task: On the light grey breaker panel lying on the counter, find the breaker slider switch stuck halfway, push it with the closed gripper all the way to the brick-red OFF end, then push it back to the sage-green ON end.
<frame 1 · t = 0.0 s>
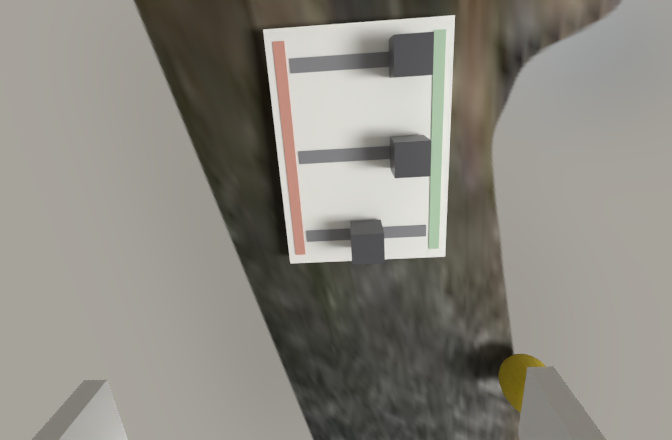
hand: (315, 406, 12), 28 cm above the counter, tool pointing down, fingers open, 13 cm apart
lemon: (511, 357, 45), on the counter
breaker panel: (362, 150, 37), on the counter
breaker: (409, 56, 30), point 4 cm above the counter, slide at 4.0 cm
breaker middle: (409, 155, 33), point 4 cm above the counter, slide at 4.0 cm
breaker slider switch: (366, 241, 36), point 4 cm above the counter, slide at 0.0 cm
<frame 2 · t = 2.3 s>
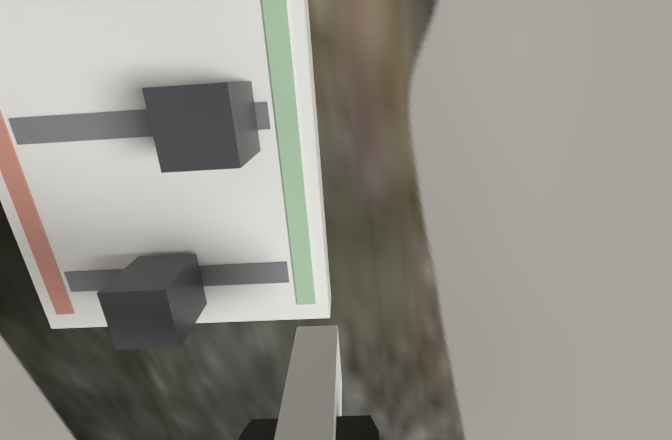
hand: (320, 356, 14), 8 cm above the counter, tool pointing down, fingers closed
breaker panel: (159, 118, 19), on the counter
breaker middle: (209, 123, 15), point 4 cm above the counter, slide at 4.0 cm
breaker slider switch: (158, 298, 18), point 4 cm above the counter, slide at 0.0 cm
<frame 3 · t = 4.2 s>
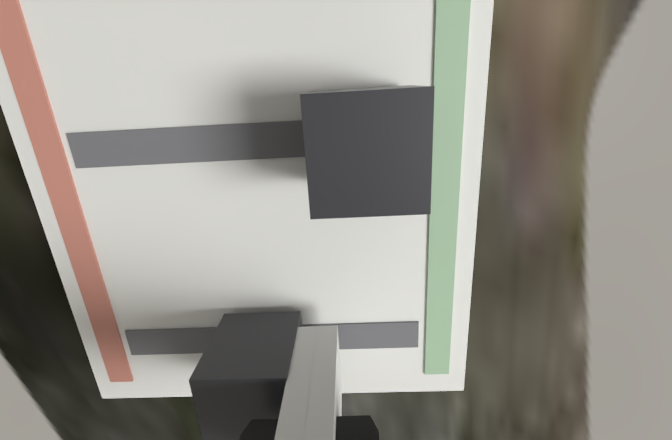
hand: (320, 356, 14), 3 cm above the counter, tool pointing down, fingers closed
breaker panel: (257, 134, 15), on the counter
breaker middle: (365, 145, 11), point 4 cm above the counter, slide at 4.0 cm
breaker slider switch: (257, 376, 13), point 4 cm above the counter, slide at -0.1 cm, touching gripper
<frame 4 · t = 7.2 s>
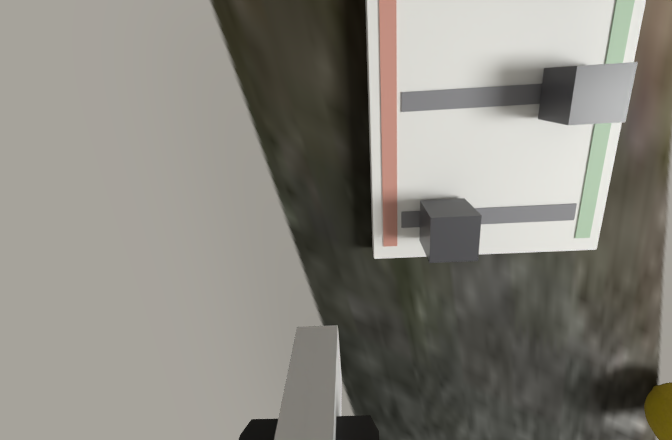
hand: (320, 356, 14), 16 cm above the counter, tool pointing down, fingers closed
lemon: (653, 385, 34), on the counter
breaker panel: (486, 95, 26), on the counter
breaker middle: (582, 93, 21), point 4 cm above the counter, slide at 4.0 cm
breaker slider switch: (447, 229, 25), point 4 cm above the counter, slide at -3.3 cm
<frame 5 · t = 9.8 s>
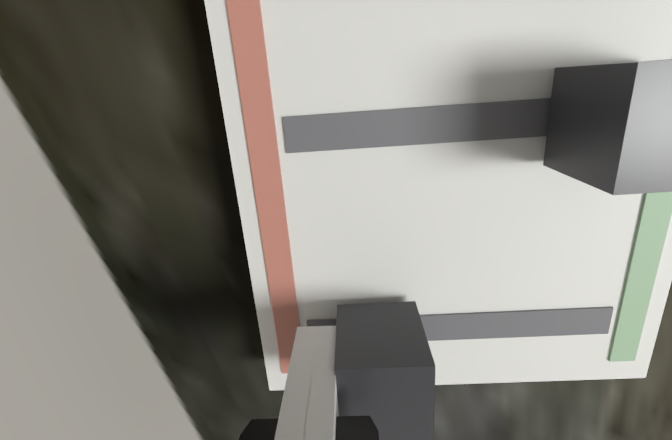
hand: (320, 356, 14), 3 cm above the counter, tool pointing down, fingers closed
breaker panel: (449, 117, 14), on the counter
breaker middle: (637, 120, 10), point 4 cm above the counter, slide at 4.0 cm
breaker slider switch: (380, 366, 13), point 4 cm above the counter, slide at -3.2 cm, touching gripper
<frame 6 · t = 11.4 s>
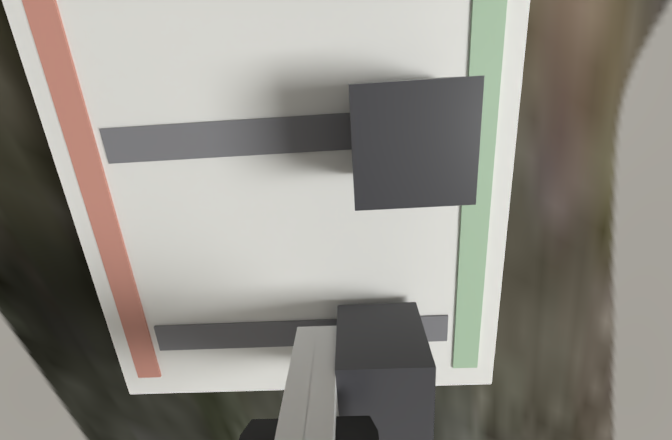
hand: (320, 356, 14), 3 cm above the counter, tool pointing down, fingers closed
breaker panel: (286, 128, 15), on the counter
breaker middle: (404, 137, 11), point 4 cm above the counter, slide at 4.0 cm
breaker slider switch: (381, 367, 13), point 4 cm above the counter, slide at 3.2 cm, touching gripper
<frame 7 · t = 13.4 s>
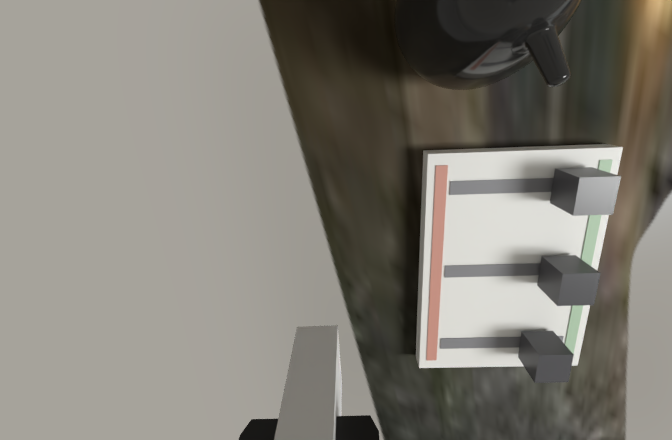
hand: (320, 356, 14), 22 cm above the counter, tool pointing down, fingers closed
breaker panel: (501, 260, 37), on the counter
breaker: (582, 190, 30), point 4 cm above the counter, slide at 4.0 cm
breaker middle: (566, 279, 33), point 4 cm above the counter, slide at 4.0 cm
breaker slider switch: (544, 355, 35), point 4 cm above the counter, slide at 3.2 cm
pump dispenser: (452, 24, 30), on the counter
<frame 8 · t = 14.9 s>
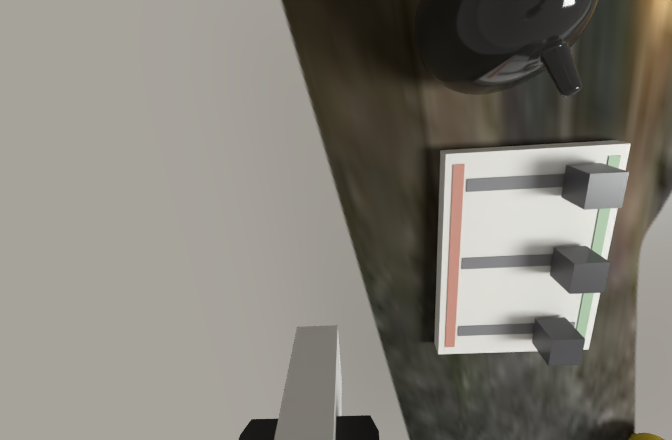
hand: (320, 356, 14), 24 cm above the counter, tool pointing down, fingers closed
lemon: (631, 433, 47), on the counter
breaker panel: (515, 252, 39), on the counter
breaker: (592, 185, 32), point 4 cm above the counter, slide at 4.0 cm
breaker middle: (578, 269, 35), point 4 cm above the counter, slide at 4.0 cm
breaker slider switch: (556, 340, 38), point 4 cm above the counter, slide at 3.2 cm
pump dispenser: (467, 31, 32), on the counter
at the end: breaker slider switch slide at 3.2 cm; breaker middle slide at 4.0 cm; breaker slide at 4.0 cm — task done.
